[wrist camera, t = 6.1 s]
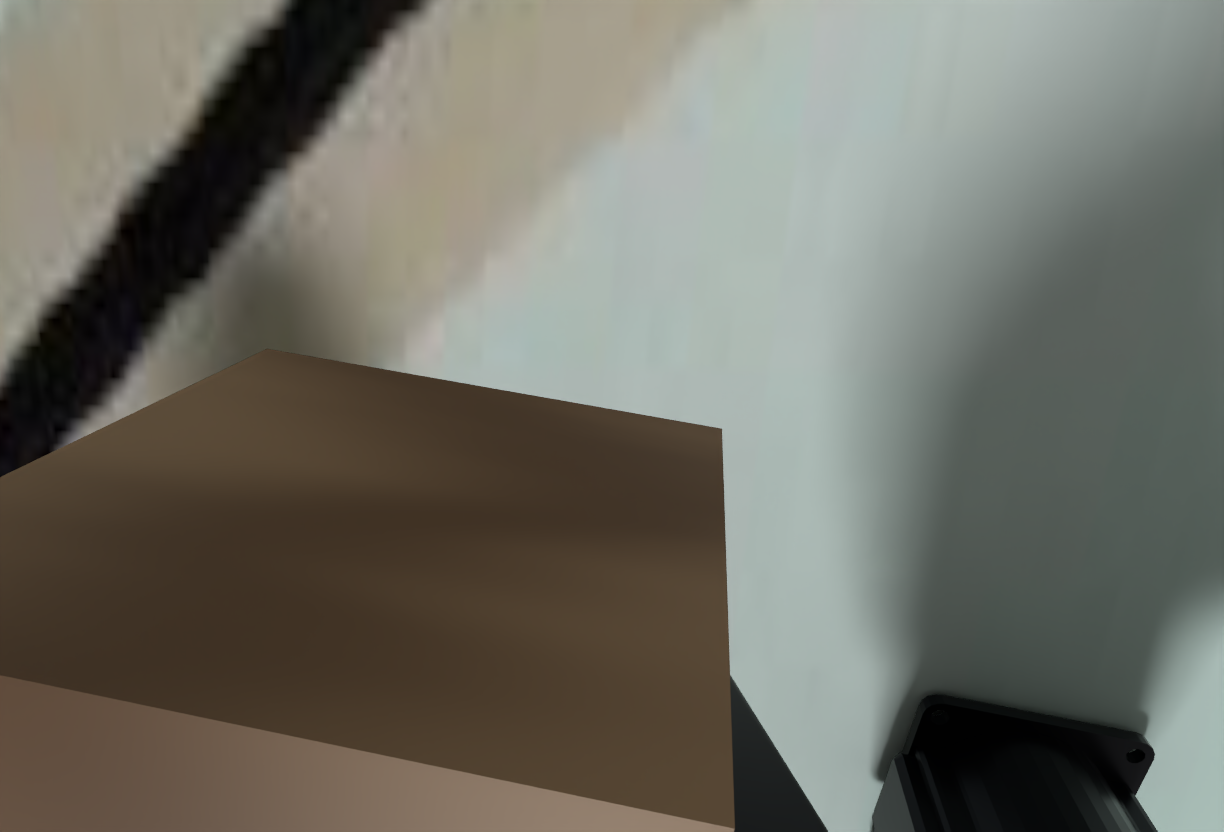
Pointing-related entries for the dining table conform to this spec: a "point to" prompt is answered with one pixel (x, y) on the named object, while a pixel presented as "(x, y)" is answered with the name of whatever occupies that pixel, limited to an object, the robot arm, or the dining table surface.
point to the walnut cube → (366, 614)
